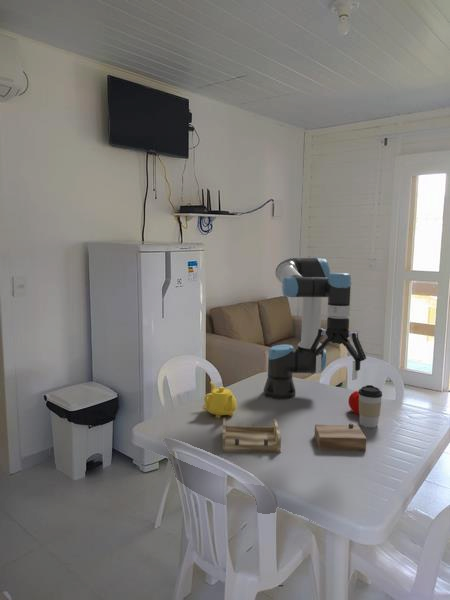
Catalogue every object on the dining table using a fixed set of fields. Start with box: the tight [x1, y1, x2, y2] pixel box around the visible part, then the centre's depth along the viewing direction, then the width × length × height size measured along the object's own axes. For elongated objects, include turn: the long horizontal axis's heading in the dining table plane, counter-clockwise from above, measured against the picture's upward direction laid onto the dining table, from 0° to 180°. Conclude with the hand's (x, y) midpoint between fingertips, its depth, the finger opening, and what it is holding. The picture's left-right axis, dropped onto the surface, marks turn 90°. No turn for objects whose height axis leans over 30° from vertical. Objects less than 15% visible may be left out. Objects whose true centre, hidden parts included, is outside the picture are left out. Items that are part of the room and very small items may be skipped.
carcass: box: [221, 417, 282, 454], centre depth 162 cm, size 16×20×6 cm
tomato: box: [347, 390, 359, 416], centre depth 191 cm, size 11×12×9 cm
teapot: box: [202, 380, 238, 419], centre depth 187 cm, size 20×15×12 cm
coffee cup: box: [358, 384, 383, 428], centre depth 178 cm, size 9×9×15 cm
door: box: [313, 423, 367, 452], centre depth 161 cm, size 11×16×6 cm
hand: (336, 376), depth 160 cm, fingers open, 13 cm apart
